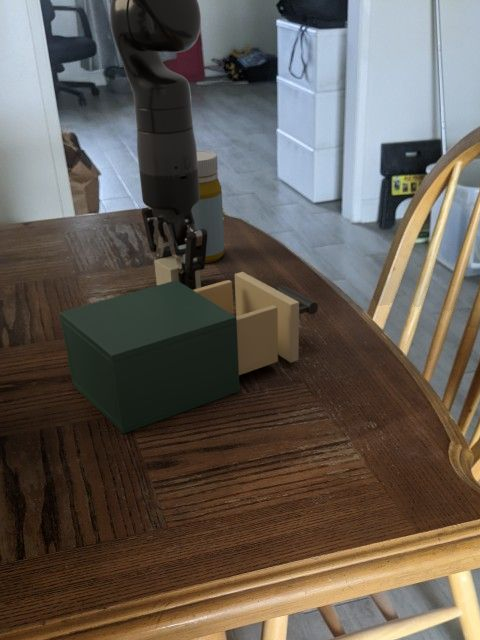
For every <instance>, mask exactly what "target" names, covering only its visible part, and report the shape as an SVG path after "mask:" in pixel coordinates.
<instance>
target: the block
mask: <svg viewBox="0 0 480 640" xmlns="http://www.w3.org/2000/svg"><path fill="white" fill-rule="evenodd" d="M183 260H184V263H185V254H184V255H183ZM153 262H154V273H155V281H156V286H157V285H161V284H165V283H168V282H172V281H176V280H177V281H179V270H178V265H177V261H176V258H175V257H174V256H169V257H165V258H161V259H157V258H156V259H154V260H153ZM195 279H196V289H198V288H201V287H202V284H201V283H202V281H201V270H198V271H195Z"/></svg>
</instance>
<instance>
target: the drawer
mask: <svg viewBox="0 0 480 640" xmlns="http://www.w3.org/2000/svg"><path fill="white" fill-rule="evenodd" d="M193 291H195V292H197V293H198V294H200V295H202V296H203V297H205V298H206V299H208V300H210V301H211V302H213V303H215V304H216V305H218V306H220V307H221V308H223V309H224V310H226V311H228V312H229V313H231V314H233V315H234V298H233V297H234V294H235V316H236V319H237V323H236V324H237V341H238V365H239V376H241V375H244V374H247V373H250V372H252V371H255V370H258V369H261V368H264V367H267V366H269V365H272V364H275V363H278V362H279V357H281V358H283V359H284V360H286V361H287V362H289V363H294V362H297V361H299V356H300V355H299V349H300V348H299V347H300V345H299V344H300V343H299V342H300V339H299V338H300V315H301V314H305V313H307V314H309V315H314V314H316V313H317V312H318V309H319V304H318V302H316V301H314V300H312V299H310V298H308V297H306V296H305V295H303V294H301V293H299V292H297V291H296V290H293V289H291V288H290V287H288V286H286V285H283V284H281V285H279V286H278V287H277V288H274V287H272V286H270V285H268V284H266V283H264V282H263V281H261V280H258V279H257V278H255V277H253V276H252V275H250V274H248V273H246V272H244V271H239V272H237V273H234V291H235V292H234V294H233V281H232V280H229V279H227V280H223V281H220V282H216V283H212V284H209V285H205V286H201V288H198V289H194V290H193Z"/></svg>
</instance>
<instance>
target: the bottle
mask: <svg viewBox="0 0 480 640" xmlns="http://www.w3.org/2000/svg"><path fill="white" fill-rule="evenodd" d="M197 163H198V179H199V194H200V198H199V201H198V202H197V203H196V204H195V205H194V206H193V207H192V214H193V218H194V222H195V226H196V227H197V228H198V229H199V230H201V229H206V231H207V247H206V257H205V264H210V263H214V262H217V261H219V260H220V259H221V258H222V257H223V255H224V254H225V232H224V229H225V228H224V213H223V209H224V207H223V192H222V185H221V182H220V180H219V178H218V177H219V173H218V155H217V153H216V152H213V151H211V150H203V149H197ZM182 248H186V244H185V245H181V246H178V249H182ZM197 258H198V257H196V260H197Z"/></svg>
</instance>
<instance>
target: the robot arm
mask: <svg viewBox="0 0 480 640" xmlns="http://www.w3.org/2000/svg"><path fill="white" fill-rule="evenodd" d="M109 16H110V17H109V18H110V20H109V21H110V27H111V28H110V29H111V33H112V37H113V39H114V43H115V47H116V49H117V52H118V54H119V58H120V60H121V63H122V66H123V69H124V72H125V75H126V78H127V81H128V83H129V86H130V88H131V92H132V95H133V105H134V116H135V124H136V151H137V162H138V171H139V180H140V181H139V182H140V190H141V199H142V202H143V204H144V205H145V206H146V207H144V208H141V216H142V220H143V221H142V222H143V225H144V229H145V233H146V238H147V243H148V247H149V251H150V252H151V253H155V257H156V260H157V259H161V258H165V257H169V256H174V257H175V258H176V261H177V265H178V270H179V282H180V283H182V284H184V285H185V286H187V287H188V288H190V289H192V290H194V289H196V279H195V271H198V270H200V271H202V270H205V268H206V263H205V257H206V247H207V231H206V229H201V230H199V229H198V228H197V227H196V226H195V222H194V218H193V214H192V207H193V206H194V205H195V204H196V203H197V202H198V201H199V198H200V194H199V179H198V163H197V150H198V149H197V142H196V136H195V131H194V119H193V105H192V93H191V92H192V91H191V85H190V82H189V81H188V79H187V78H186V77H185V76H183V75H181V74H179V73H177V72H175V71H173V70H170V69H169V67H167V66H166V65H165V64H164V62H163V59H162V57H161V54H160V53H171V54H173V53H174V54H178V53H185V52H186V51H188V50H190V49H191V48H193V46H194V45H195V44H196V42H197V41H198V38H199V36H200V33H201V28H202V15H201V9H200V4H199V2H198V0H111V3H110V11H109ZM185 244H186V248H182V249H179V246H181V245H185ZM184 254H185V263H184V260H183V255H184ZM196 257H198V258H197V260H196Z"/></svg>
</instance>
